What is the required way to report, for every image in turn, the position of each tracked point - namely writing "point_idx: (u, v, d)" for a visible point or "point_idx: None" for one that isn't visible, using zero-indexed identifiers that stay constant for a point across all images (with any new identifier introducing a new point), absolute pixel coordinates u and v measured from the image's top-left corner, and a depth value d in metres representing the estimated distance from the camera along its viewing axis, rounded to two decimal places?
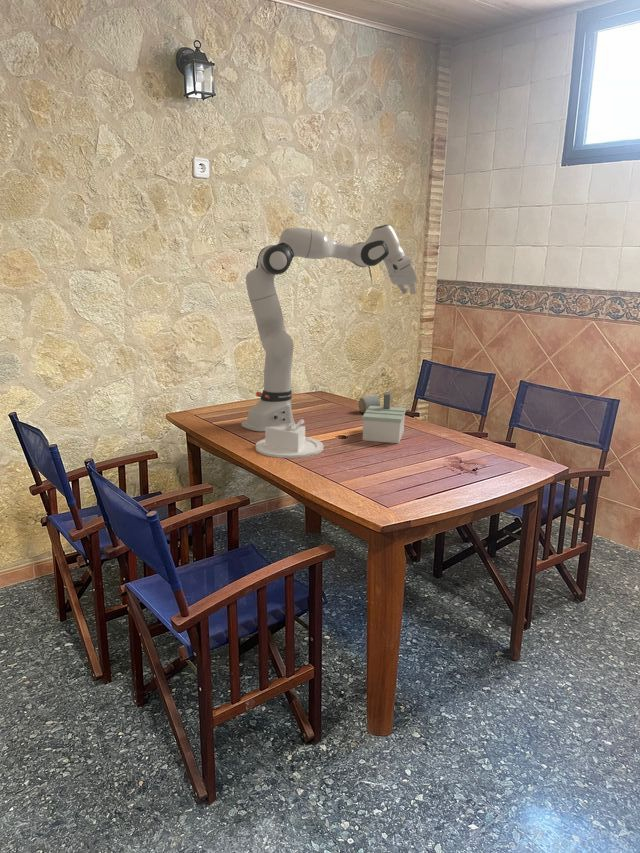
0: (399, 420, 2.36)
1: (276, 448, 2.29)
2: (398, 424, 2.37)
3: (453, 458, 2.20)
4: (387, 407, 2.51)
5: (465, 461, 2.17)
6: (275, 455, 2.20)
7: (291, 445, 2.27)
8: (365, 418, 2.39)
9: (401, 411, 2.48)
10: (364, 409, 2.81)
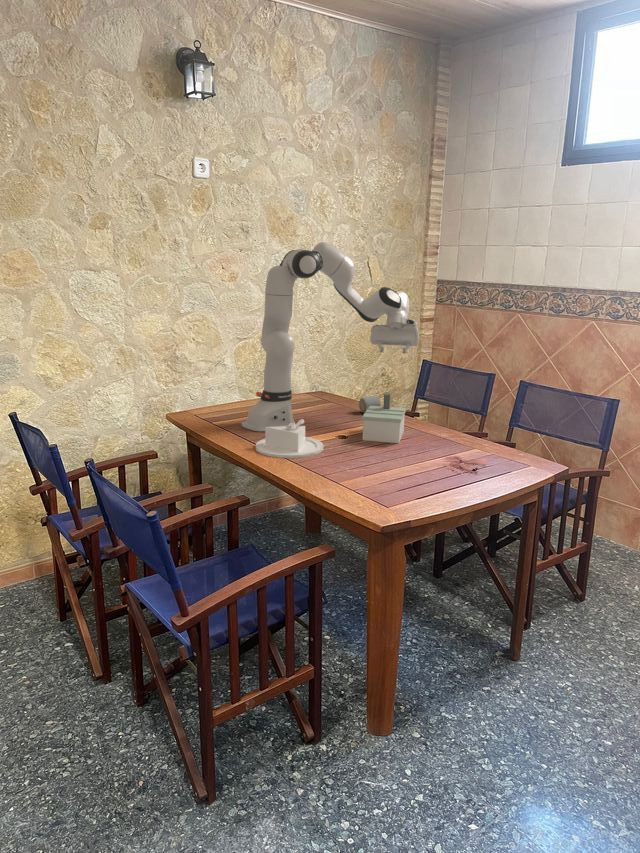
0: (399, 420, 2.36)
1: (276, 448, 2.29)
2: (398, 424, 2.37)
3: (453, 458, 2.20)
4: (387, 407, 2.51)
5: (465, 461, 2.17)
6: (275, 455, 2.20)
7: (291, 444, 2.27)
8: (365, 418, 2.39)
9: (401, 411, 2.48)
10: (364, 409, 2.81)
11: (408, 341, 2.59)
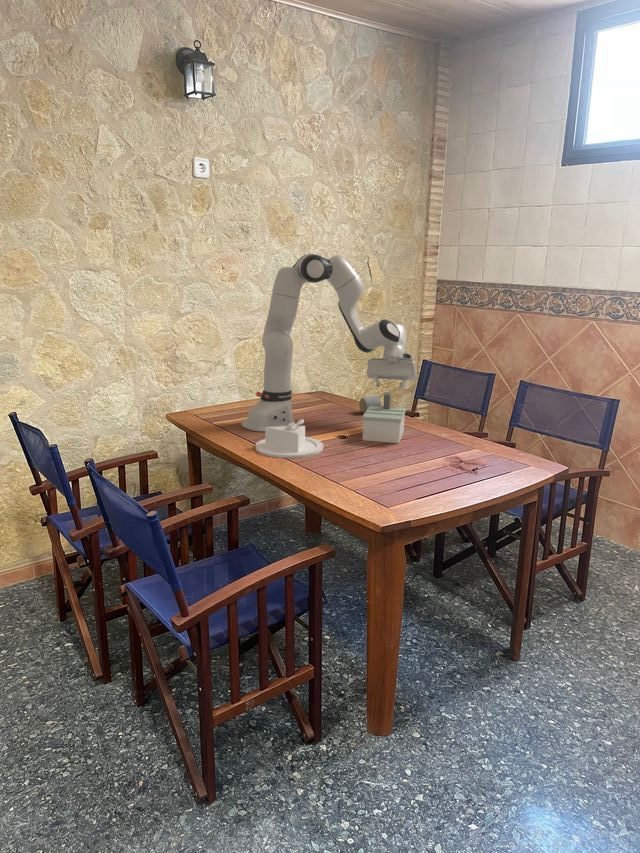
0: (399, 420, 2.36)
1: (276, 448, 2.29)
2: (398, 424, 2.37)
3: (453, 458, 2.20)
4: (387, 407, 2.51)
5: (465, 461, 2.17)
6: (275, 455, 2.20)
7: (291, 444, 2.27)
8: (365, 418, 2.39)
9: (401, 411, 2.48)
10: (365, 410, 2.80)
11: (405, 376, 2.56)
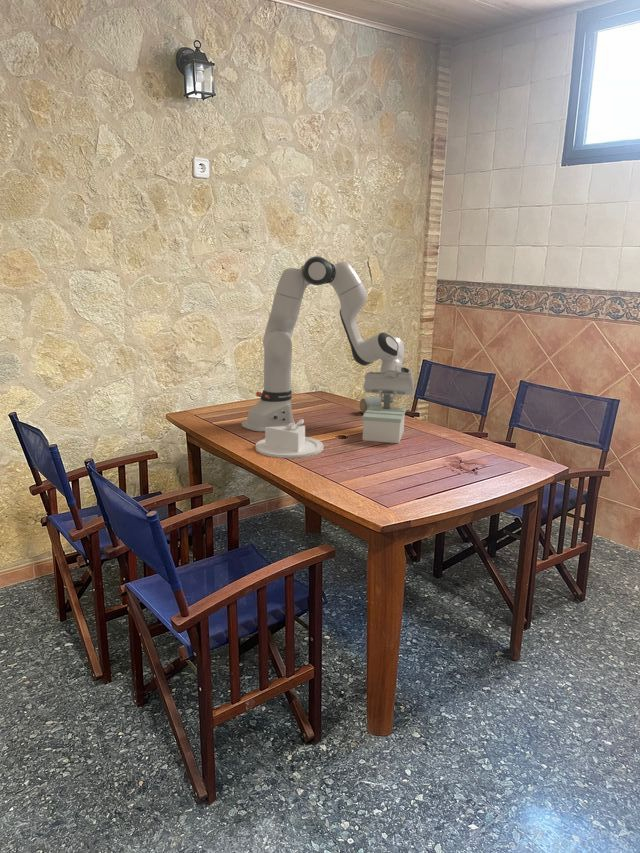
0: (399, 420, 2.36)
1: (276, 448, 2.29)
2: (398, 424, 2.37)
3: (453, 458, 2.20)
4: (387, 407, 2.51)
5: (465, 461, 2.17)
6: (275, 455, 2.20)
7: (291, 444, 2.27)
8: (365, 418, 2.39)
9: (401, 411, 2.48)
10: (365, 410, 2.80)
11: (403, 390, 2.51)
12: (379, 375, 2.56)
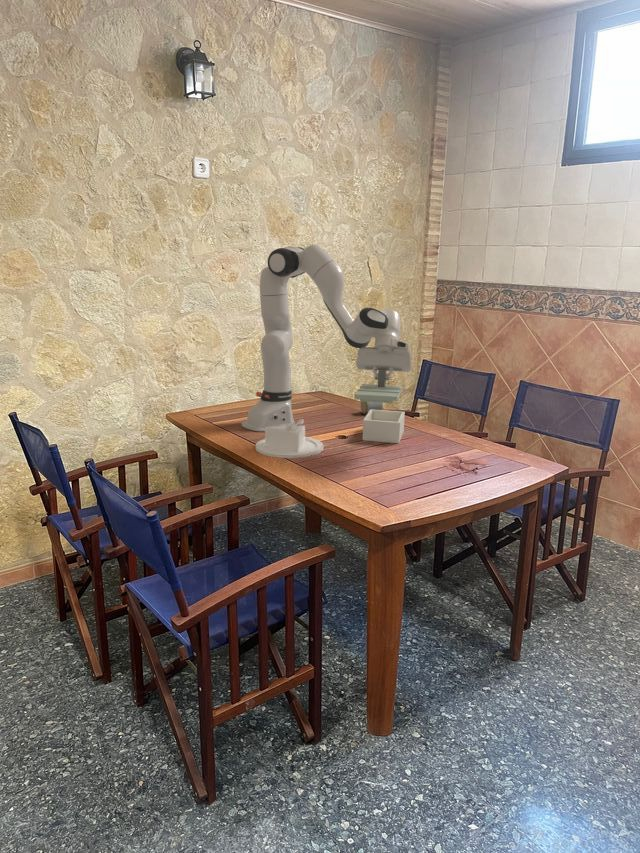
0: (395, 398, 2.13)
1: (276, 448, 2.29)
2: (398, 424, 2.37)
3: (453, 458, 2.21)
4: (382, 385, 2.27)
5: (465, 461, 2.17)
6: (275, 455, 2.20)
7: (291, 444, 2.27)
8: (358, 396, 2.16)
9: (397, 389, 2.24)
10: (366, 410, 2.79)
11: (399, 366, 2.28)
12: (373, 350, 2.33)
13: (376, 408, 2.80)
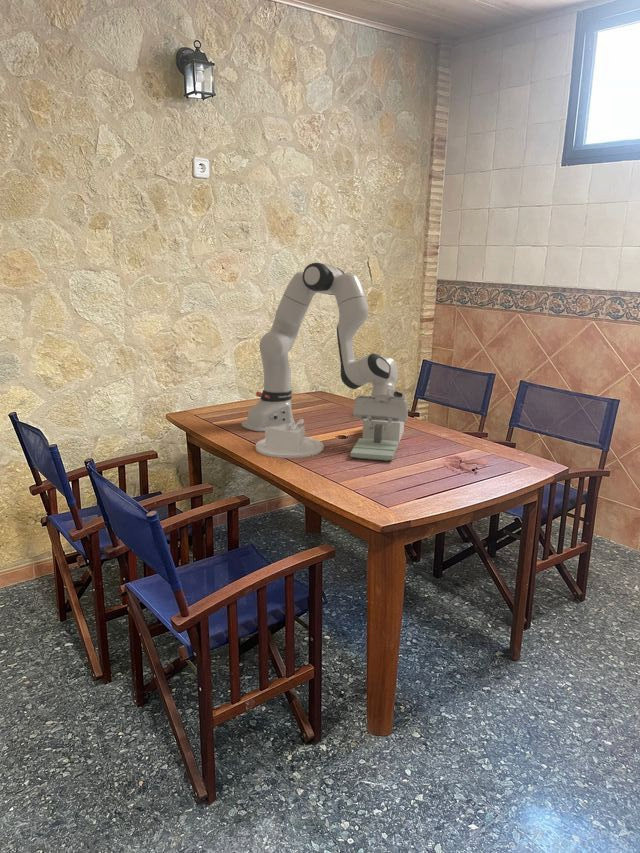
0: (390, 457, 2.16)
1: (276, 448, 2.29)
2: (398, 424, 2.37)
3: (453, 458, 2.21)
4: (378, 440, 2.30)
5: (465, 461, 2.17)
6: (276, 455, 2.20)
7: (291, 444, 2.27)
8: (354, 454, 2.19)
9: (393, 445, 2.27)
10: None
11: (395, 417, 2.30)
12: (370, 400, 2.35)
13: None
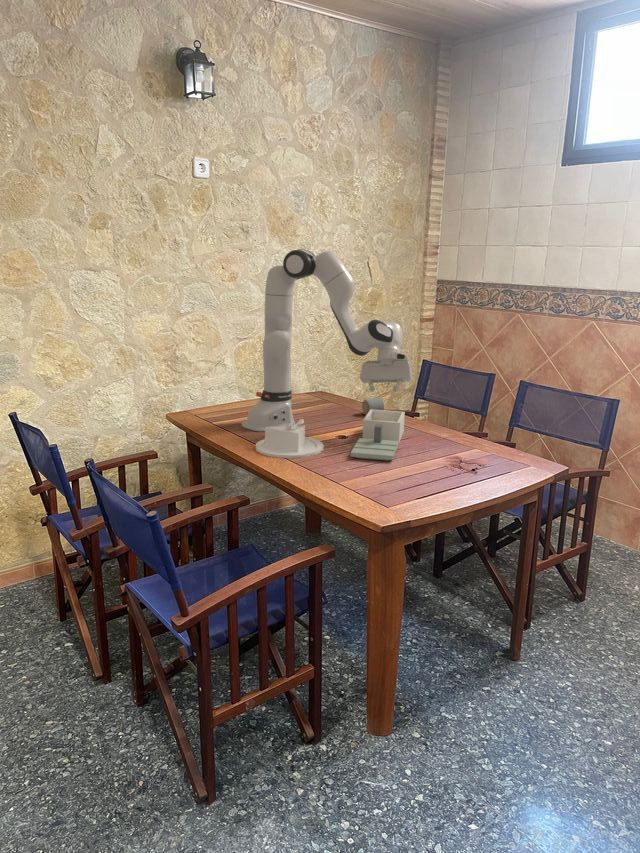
0: (391, 457, 2.16)
1: (276, 448, 2.29)
2: (398, 424, 2.37)
3: (453, 458, 2.21)
4: (378, 440, 2.31)
5: (465, 461, 2.17)
6: (276, 455, 2.20)
7: (291, 444, 2.27)
8: (354, 454, 2.19)
9: (393, 445, 2.28)
10: (368, 411, 2.78)
11: (399, 378, 2.40)
12: (375, 364, 2.47)
13: (378, 409, 2.78)
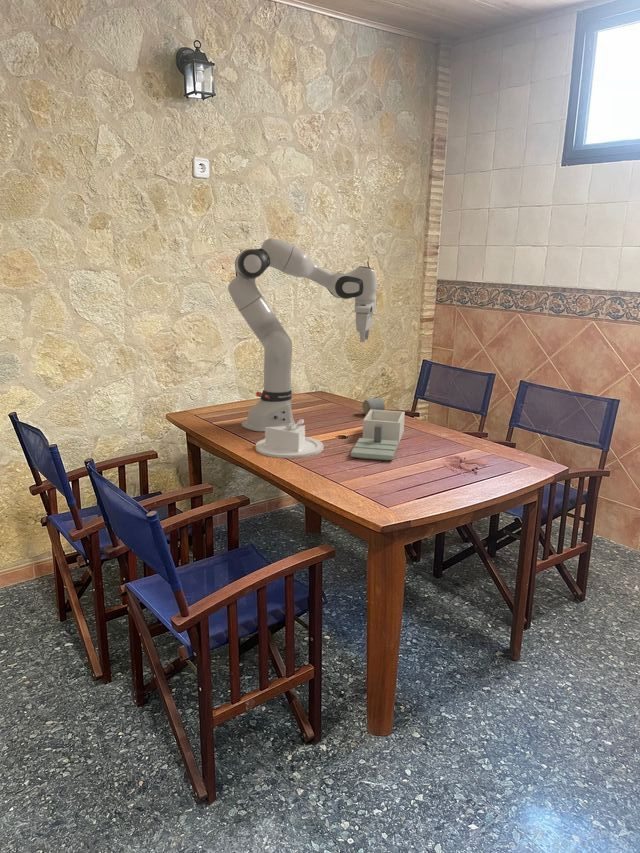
0: (391, 457, 2.16)
1: (276, 448, 2.29)
2: (398, 424, 2.37)
3: (453, 458, 2.21)
4: (378, 440, 2.31)
5: (465, 461, 2.17)
6: (276, 455, 2.20)
7: (291, 444, 2.27)
8: (354, 454, 2.19)
9: (393, 445, 2.28)
10: (368, 411, 2.77)
11: None
12: None
13: (378, 409, 2.77)
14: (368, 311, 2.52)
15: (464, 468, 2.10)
